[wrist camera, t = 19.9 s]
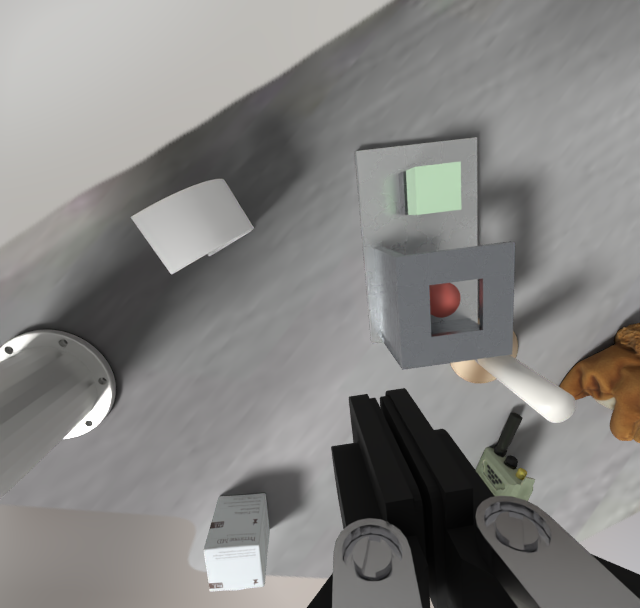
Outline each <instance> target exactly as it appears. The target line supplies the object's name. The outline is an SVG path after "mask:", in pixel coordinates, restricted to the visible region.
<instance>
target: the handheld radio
mask: <svg viewBox="0 0 640 608" xmlns="http://www.w3.org/2000/svg"><path fill="white" fill-rule="evenodd" d="M521 421H522V417H521V416H520V415H518V414H516V413H511V415H510V417H509V419H508V421H507V423H506V425H505V428H504V430H503V432H502V434H501V436H500V438H499V443H498V445H496V447H495V449H494V448H490V447H487V448H486V449H485V450H484V453H483V455H482V457H481V459H480V461H479V464H478V466H477V468H476V472H477V473H478V474H479V476H480V477H481V479H482V480H483V481H484V483H485V484H486V485H487V487H488V488H489V489H490V491H491V492H492V493H493V495H494V496H512V497H516V498H519V499H523V500H526V501H528V499H529V497H530V495H531V493H532V491H533V484H534V481H535V479H533V478H529V477H526V478H525V476H526V475H527V472H526V470H524V469H522V468H519V469H518V470H517V469H516V467H517V463H518V461H517V459H516V458H515V457H514V456H507V458H506V456H505V455H506V452H507V448H508V446H509V445H510V443H511V441H512V439H513V437H514V435H515V433H516V431H517V429H518V427H519V425H520V423H521Z"/></svg>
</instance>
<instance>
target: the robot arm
mask: <svg viewBox="0 0 640 608" xmlns="http://www.w3.org/2000/svg"><path fill="white" fill-rule="evenodd" d="M115 396H116V383H115V378H114V374H113V372H112V370H111V368H110V365H109V364H108V362H107V361H106V359H105V358H104V357H103V355H102V354H101V353H100V352H99V351H98V350H97V349H96V348H95V347H94V346H92V345H91V344H89V343H88V342H87V341H85V340H83V339H81V338H79V337H77V336H75V335H73V334H70V333H66V332H63V331H57V330H35V331H31V332H26V333H24V334H22V335H19V336H17V337H14V338H13V339H11V340H9V341H7V342H6V343H5V344H3V345H2V346H1V347H0V499H1V498H2V497H3V496H4V495H6V494H7V493H8V492H9V491H10V490H11V489H12V488H13V487H14V486H15V485H16V484H17V483H18V482H19V481H20V480H21V479H22V478H23V477H24V476H25V475H26V474H27V473H28V472H29V471H30V470H31V469H33V468H34V467H35V466H36V465H37V464H38V463H39V462H40V461H41V460H42V459H43V458H44V457H45V456H46V455H47V454H48V453H49V452H50V451H51V450H52V449H53V448H54V447H55V446H56V445H57V444H58V443H60V442H61V441H62V440H63V439H67V438H72V437H77V436H80V435H83V434H85V433H87V432H89V431H91V430H92V429H94V428H95V427H97V426H98V425H99V424H100V423H101V422H102V421H103V420H104V419H105V417H106V416H107V415H108V413H109V412H110V410H111V408H112V406H113V404H114V400H115ZM349 406H350V415H351V424H352V433H353V442H354V443H351V444H344V445H338V446H332V447H331V450H332V458H333V466H334V473H335V480H336V487H337V493H338V500H339V506H340V511H341V517H342V523H343V529H344V530H343V531H341V533H340V534H339V536H338V538H337V540H336V542H335V547H334V555H333V573H332V575H331V576H330V577H329V579H328V580H327V581H326V583H325V584H324V585H323V587H322V588H321V590H320V591H319V592H318V593H317V595H316V596H315V598H314V599H313V600H312V601H311V603H310V604H309V605H308V607H307V608H430V598H431V601H432V604H433V606H434V608H640V575H639V574H637V573H634V572H632V571H630V570H627V569H625V568H623V567H620V566H618V565H616V564H613V563H611V562H608V561H606V560H604V559H601V558H599V557H597V556H594V555H592V554H590V553H589V552H588V551H587V550H586V549H585V548H584V547H583V546H582V545H581V544H579V543H578V542H577V541H576V540H575V539H574V538H573V537H572V536H571V535H570V534H569V533H568V532H566V531H565V530H564V529H563V528H562V527H561V526H560V525H559V524H558V523H557V522H556V521H555V520H554V519H552V518H551V517H550V516H549V515H548V514H547V513H546V512H544V511H543V510H542V509H540V508H539V507H538V506H536V505H534V504H532V503H530V502H528V501H526V500H523V499H519V498H516V497H512V496H494V495H493V493H492V492H491V491H490V489H489V488H488V487H487V485H486V484H485V483H484V481H483V480H482V479H481V477H480V476H479V474H478V473H477V472H476V470H475V469H474V468H473V466H472V465H471V464H470V462H469V461H468V460H467V458H466V457H465V455H464V454H463V453H462V451H461V450H460V449H459V447H458V446H457V445H456V443H455V442H454V440H453V439H452V438H451V436H450V435H449V434H448V432H447V431H446V430H444V429H438V430H433V428H432V427H431V425H430V424H429V422H428V421H427V420H426V418H425V417H424V415H423V414H422V412H421V411H420V409H419V408H418V406H417V405H416V403H415V402H414V400H413V399H412V397H411V396H410V394H409V393H408V392H407V390H406V389H405V388H403V389H396V390H390V391H386V396H383V397H380V406H379V404H378V402H377V400H376V398H370V399H369V396H368V394H364V395H357V396H351V397H349ZM380 408H381V409H380Z"/></svg>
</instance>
